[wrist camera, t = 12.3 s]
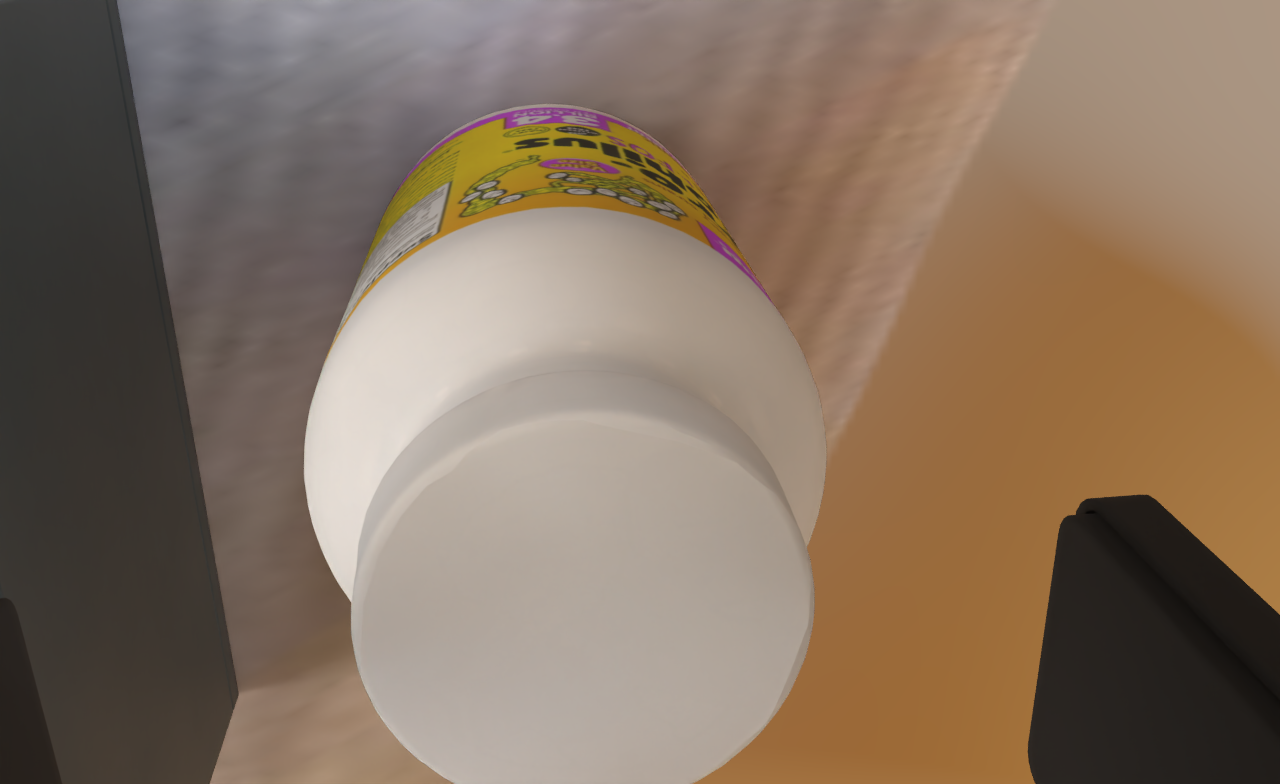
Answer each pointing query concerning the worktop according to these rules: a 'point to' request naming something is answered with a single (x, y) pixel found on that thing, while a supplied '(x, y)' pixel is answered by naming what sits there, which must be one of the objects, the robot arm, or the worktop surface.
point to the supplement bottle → (566, 463)
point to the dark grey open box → (98, 422)
